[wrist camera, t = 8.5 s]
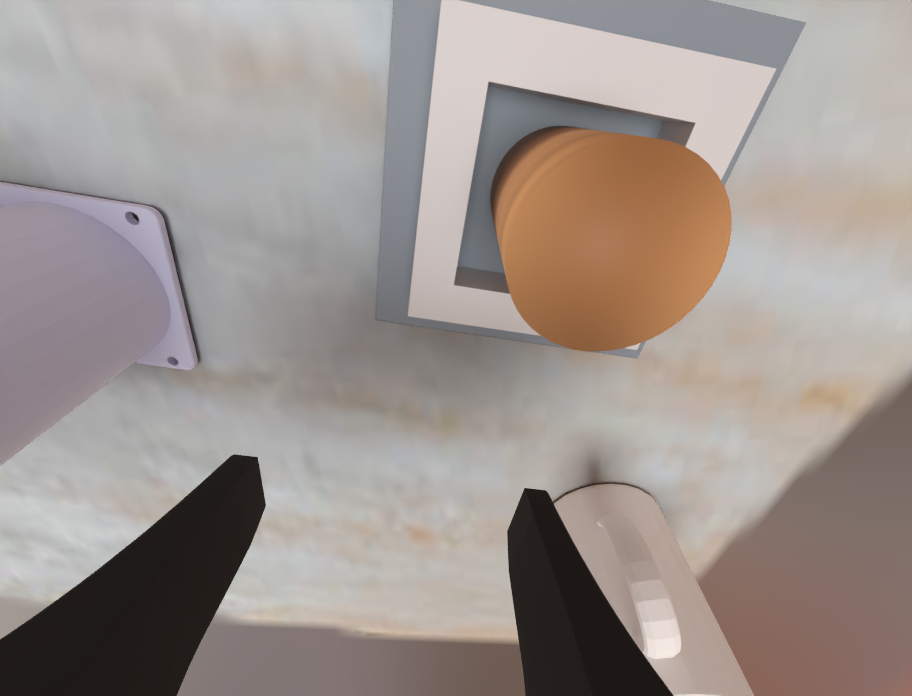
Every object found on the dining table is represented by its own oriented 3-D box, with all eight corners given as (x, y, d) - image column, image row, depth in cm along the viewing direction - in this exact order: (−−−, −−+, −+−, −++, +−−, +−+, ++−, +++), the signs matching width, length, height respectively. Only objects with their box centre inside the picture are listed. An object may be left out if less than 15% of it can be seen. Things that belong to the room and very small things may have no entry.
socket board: (381, 305, 18) (365, 344, 15) (404, -51, 11) (384, -107, 8) (625, 341, 19) (656, 385, 16) (770, 31, 12) (868, 6, 9)
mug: (657, 541, 28) (751, 745, 19) (550, 556, 29) (590, 754, 20) (659, 423, 22) (798, 642, 13) (521, 448, 23) (561, 665, 14)
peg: (482, 249, 15) (491, 342, 9) (500, 118, 12) (528, 124, 7) (593, 261, 15) (676, 360, 9) (632, 133, 13) (777, 152, 7)
